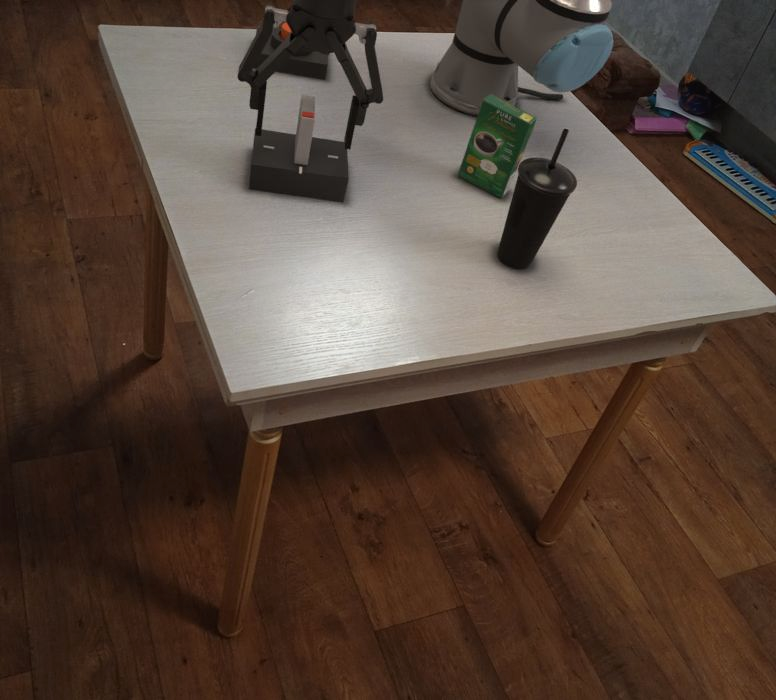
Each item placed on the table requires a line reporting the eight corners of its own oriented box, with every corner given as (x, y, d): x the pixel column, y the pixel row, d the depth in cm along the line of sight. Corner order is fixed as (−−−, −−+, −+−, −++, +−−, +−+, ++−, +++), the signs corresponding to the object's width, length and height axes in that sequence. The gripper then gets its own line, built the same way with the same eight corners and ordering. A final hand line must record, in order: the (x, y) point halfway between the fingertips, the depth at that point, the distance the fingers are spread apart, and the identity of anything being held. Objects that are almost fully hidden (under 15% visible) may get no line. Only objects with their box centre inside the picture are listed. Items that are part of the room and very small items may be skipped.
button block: (324, 54, 144) (328, 29, 140) (325, 79, 137) (329, 54, 134) (255, 42, 141) (257, 17, 138) (252, 67, 135) (254, 41, 132)
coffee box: (510, 193, 125) (539, 115, 115) (502, 200, 123) (531, 122, 113) (465, 169, 127) (489, 91, 117) (456, 176, 125) (480, 98, 116)
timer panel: (342, 163, 121) (347, 138, 118) (343, 205, 114) (348, 179, 111) (252, 150, 118) (255, 124, 115) (248, 191, 111) (251, 165, 108)
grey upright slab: (295, 139, 115) (301, 92, 110) (307, 141, 115) (315, 94, 110) (294, 163, 111) (301, 115, 106) (307, 165, 111) (315, 117, 106)
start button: (305, 34, 138) (306, 24, 137) (304, 45, 135) (306, 35, 134) (281, 30, 137) (282, 20, 136) (280, 41, 135) (281, 30, 133)
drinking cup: (539, 283, 110) (596, 154, 96) (484, 266, 110) (533, 136, 96) (542, 250, 116) (597, 124, 102) (490, 234, 116) (537, 106, 102)
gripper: (222, -33, 92) (211, 138, 107) (429, 6, 96) (390, 165, 111) (228, -58, 97) (216, 109, 112) (424, -20, 101) (387, 135, 116)
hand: (303, 137), depth 111 cm, fingers open, 11 cm apart
